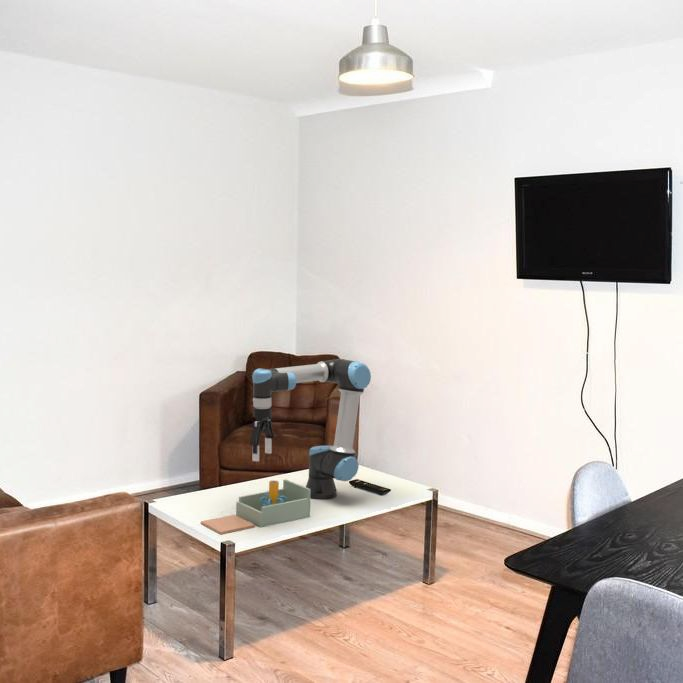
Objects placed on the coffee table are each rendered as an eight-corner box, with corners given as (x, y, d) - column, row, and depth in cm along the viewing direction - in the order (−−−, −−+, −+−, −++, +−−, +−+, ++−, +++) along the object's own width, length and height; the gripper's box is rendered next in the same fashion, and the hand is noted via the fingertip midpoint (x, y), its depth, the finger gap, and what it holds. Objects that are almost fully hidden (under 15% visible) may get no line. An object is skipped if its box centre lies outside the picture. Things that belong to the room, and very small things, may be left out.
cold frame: (284, 505, 364) (285, 479, 363) (309, 516, 350) (310, 489, 349) (236, 515, 348) (236, 488, 347) (260, 527, 334) (260, 498, 333)
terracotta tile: (234, 517, 346) (234, 514, 346) (254, 527, 334) (254, 524, 334) (200, 523, 336) (200, 521, 336) (220, 534, 324) (220, 532, 324)
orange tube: (261, 520, 342) (261, 485, 341) (256, 513, 352) (257, 479, 351) (289, 519, 346) (290, 484, 344) (284, 511, 356) (285, 477, 354)
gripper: (265, 401, 353) (265, 449, 356) (241, 412, 330) (241, 463, 332) (281, 402, 351) (281, 450, 354) (258, 413, 328) (258, 465, 330)
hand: (262, 457), depth 343 cm, fingers open, 13 cm apart
